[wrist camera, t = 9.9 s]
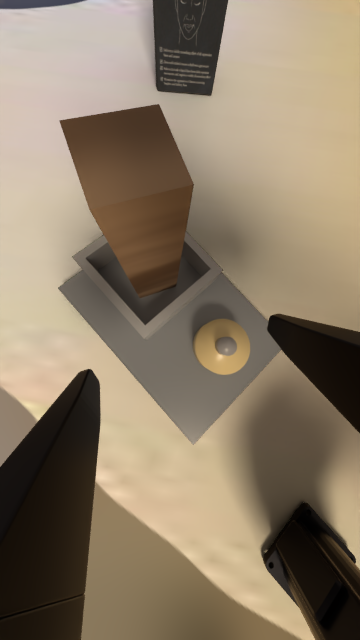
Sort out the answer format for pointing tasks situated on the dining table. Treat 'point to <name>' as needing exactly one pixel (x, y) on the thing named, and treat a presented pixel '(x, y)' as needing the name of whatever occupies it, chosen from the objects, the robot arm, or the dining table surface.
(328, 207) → the dining table surface
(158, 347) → the housing
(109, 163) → the wooden block
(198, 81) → the box
